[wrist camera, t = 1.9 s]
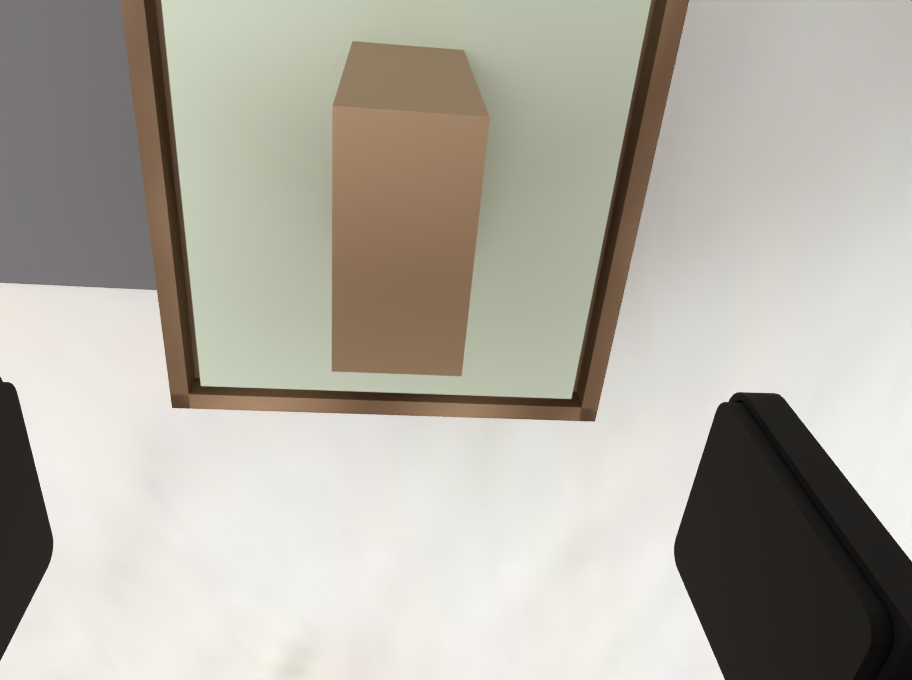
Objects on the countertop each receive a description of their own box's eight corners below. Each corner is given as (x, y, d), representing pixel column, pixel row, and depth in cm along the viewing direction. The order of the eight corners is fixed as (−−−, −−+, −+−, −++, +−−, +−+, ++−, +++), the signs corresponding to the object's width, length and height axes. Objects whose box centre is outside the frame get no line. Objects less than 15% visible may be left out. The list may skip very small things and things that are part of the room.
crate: (629, -185, 27) (737, -219, 18) (548, 295, 36) (594, 421, 28) (190, -235, 25) (81, -298, 17) (228, 279, 35) (172, 407, 26)
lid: (669, -166, 19) (823, -196, 12) (565, 380, 28) (620, 546, 21) (152, -223, 18) (-5, -294, 11) (208, 366, 27) (139, 538, 20)
